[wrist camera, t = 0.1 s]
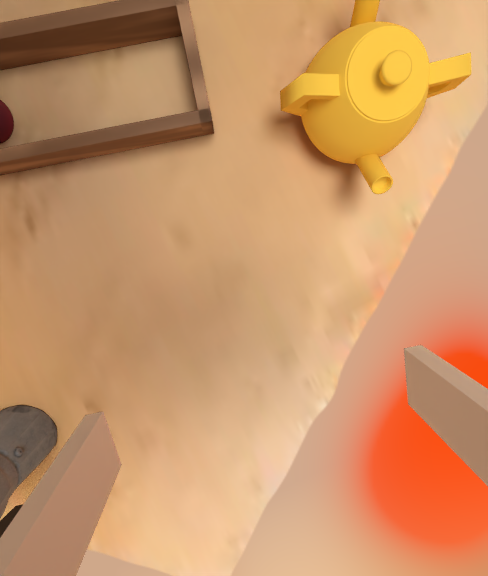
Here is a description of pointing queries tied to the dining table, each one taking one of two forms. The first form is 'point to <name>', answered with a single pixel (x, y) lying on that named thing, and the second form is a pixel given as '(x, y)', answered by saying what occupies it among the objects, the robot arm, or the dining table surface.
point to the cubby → (97, 37)
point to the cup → (5, 122)
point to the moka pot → (22, 446)
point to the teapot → (368, 91)
